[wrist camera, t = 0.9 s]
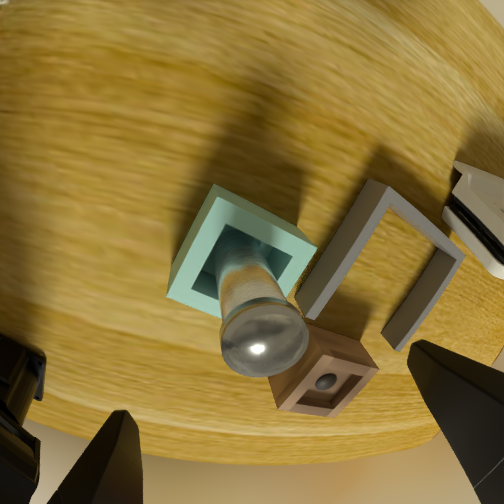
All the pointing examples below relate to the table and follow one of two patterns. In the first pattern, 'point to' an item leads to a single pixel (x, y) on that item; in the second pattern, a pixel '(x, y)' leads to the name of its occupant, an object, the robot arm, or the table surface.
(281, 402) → the walnut block
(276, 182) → the table surface
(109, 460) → the robot arm
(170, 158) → the table surface
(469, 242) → the grey slotted housing
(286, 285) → the teal block
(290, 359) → the metal cylinder peg
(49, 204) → the table surface
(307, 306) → the grey u-shaped bracket
